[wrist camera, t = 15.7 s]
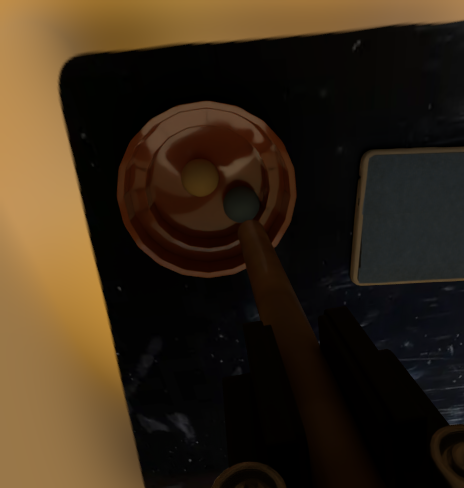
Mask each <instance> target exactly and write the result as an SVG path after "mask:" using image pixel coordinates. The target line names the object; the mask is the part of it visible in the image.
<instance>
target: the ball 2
mask: <svg viewBox="0 0 464 488" xmlns="http://www.w3.org/2000/svg"><path fill="white" fill-rule="evenodd" d="M223 207H224V211H225V213H226V215H227V216H228V217H229V218H230V219H231V220H233V221H235V222H238V223H243V222H244V221H247V220H252V219H253V218H254V217H255V216H256V215H257V213H258V211H259V207H260V201H259V198H258V196H257V194H256V193H255V192H254V191H253V190H252V189H251V188H249V187H245V186H238V187H235V188H232V189H231V190H230V191H229V192H228V193H227V194H226V196H225V198H224V201H223Z"/></svg>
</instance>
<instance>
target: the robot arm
mask: <svg viewBox="0 0 464 488" xmlns="http://www.w3.org/2000/svg"><path fill="white" fill-rule="evenodd" d="M318 325H319V337H320V348H321V350H322V352H323V354H324V356H325V358H326V360H327V362H328V365H329V367H330V369H331V371H332V373H333V375H334V377H335V379H336V382H337V384H338V386H339V388H340V390H341V392H342V394H343V396H344V398H345V401H346V403H347V405H348V407H349V409H350V411H351V413H352V415H353V418H354V420H355V422H356V424H357V426H358V428H359V430H360V432H361V434H362V437H363V439H364V441H365V443H366V445H367V447H368V449H369V451H370V454H371V456H372V458H373V460H374V462H375V464H376V466H377V468H378V471H379V473H380V475H381V477H382V479H383V481H384V482H385V484H386V486H387V488H464V425H463V424H457V425H449V424H448V422H447V421H446V420H445V419H444V417H443V416H442V415H441V413H440V412H439V411H438V410H437V408H436V407H435V406H434V405H433V403H432V402H431V401H430V399H429V398H428V397H427V396H426V394H425V393H424V392H423V391H422V389H421V388H420V387H419V385H418V384H417V383H416V382H415V380H414V379H413V378H412V376H411V375H410V374H409V373H408V371H407V370H406V369H405V368H404V366H403V365H402V364H401V362H400V361H399V360H398V359H397V357H396V356H395V355H394V354H393V353H392V352H391V351H390V350H388V349H384V350H378V349H377V348H376V346H375V345H374V344H373V342H372V341H371V340H370V338H369V337H368V336H367V334H366V333H365V331H364V330H363V329H362V327H361V326H360V325H359V323H358V322H357V320H356V319H355V318H354V316H353V315H352V314H351V312H350V311H349V310H348V308H347V307H346V306H343V307H337V308H331V309H325V311H324V315H322V316H319V317H318ZM243 330H244V336H245V342H246V348H247V354H248V360H249V366H250V373H247V374H242V375H236V376H230V377H225V378H223V379H222V382H223V396H224V409H225V423H226V436H227V449H228V462H229V468H228V469H226V470H225V471H224V472H223V473H222V474H221V475H220V476H219V477H218V478H217V479H216V480H215V482H214V484H213V486H212V488H313V485H312V476H311V467H310V458H309V449H308V443H307V438H306V434H305V430H304V426H303V423H302V420H301V417H300V414H299V410H298V407H297V404H296V401H295V398H294V395H293V392H292V389H291V386H290V382H289V379H288V376H287V373H286V370H285V367H284V364H283V361H282V358H281V354H280V351H279V348H278V345H277V342H276V339H275V336H274V333H273V330H272V326H271V324H270V325H263V322H262V321H256V322H250V323H244V324H243Z"/></svg>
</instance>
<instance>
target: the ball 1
mask: <svg viewBox="0 0 464 488" xmlns="http://www.w3.org/2000/svg"><path fill="white" fill-rule="evenodd" d="M218 181H219V174H218V171H217V169H216V167H215V166H214V165H213V164H212V163H211V162H210V161H208V160H206V159H201V158H200V159H194V160H191V161H189V162H188V163H187V164H186V165H185V166H184V168H183V170H182V173H181V182H182V185H183V187H184V188H185V190H186V191H187V192H188V193H190V194H191V195H194V196H197V197H203V196H207V195H209V194H211V193H212V192H213V191H214V190H215V189H216V187H217V185H218Z"/></svg>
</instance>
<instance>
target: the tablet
mask: <svg viewBox="0 0 464 488" xmlns="http://www.w3.org/2000/svg"><path fill="white" fill-rule="evenodd" d="M359 176H360V178H359V179H358V186H357V196H356V206H355V216H354V228H353V239H352V253H351V267H350V277H351V280H352V282H353V283H355V284H357V285H361V286H364V285H384V284H403V283H420V282H443V281H462V280H464V147H425V148H423V147H416V148H395V149H372V150H369V151H367V152H365V153H364V154H363V156H362V158H361V161H360V168H359Z"/></svg>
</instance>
